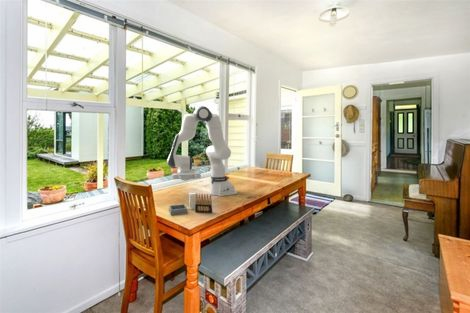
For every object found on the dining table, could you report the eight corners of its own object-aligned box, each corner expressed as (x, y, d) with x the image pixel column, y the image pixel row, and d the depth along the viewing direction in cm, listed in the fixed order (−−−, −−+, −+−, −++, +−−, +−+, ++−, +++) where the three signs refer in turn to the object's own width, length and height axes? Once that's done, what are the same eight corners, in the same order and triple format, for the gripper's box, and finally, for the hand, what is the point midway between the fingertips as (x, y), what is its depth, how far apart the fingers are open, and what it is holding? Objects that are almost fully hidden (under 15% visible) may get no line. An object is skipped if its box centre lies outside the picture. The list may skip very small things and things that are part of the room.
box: (184, 208, 165) (184, 204, 165) (187, 213, 156) (187, 208, 155) (169, 210, 162) (169, 205, 161) (170, 215, 152) (170, 210, 152)
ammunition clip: (195, 212, 158) (194, 193, 156) (196, 211, 160) (195, 192, 158) (211, 213, 156) (211, 194, 155) (212, 212, 158) (212, 193, 156)
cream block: (195, 207, 168) (194, 192, 167) (196, 208, 164) (196, 193, 163) (189, 207, 166) (188, 193, 165) (190, 209, 163) (189, 194, 162)
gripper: (170, 170, 183) (172, 173, 170) (198, 170, 190) (202, 172, 178) (170, 179, 184) (172, 182, 171) (198, 178, 191) (202, 181, 178)
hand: (188, 177), depth 174 cm, fingers open, 8 cm apart
